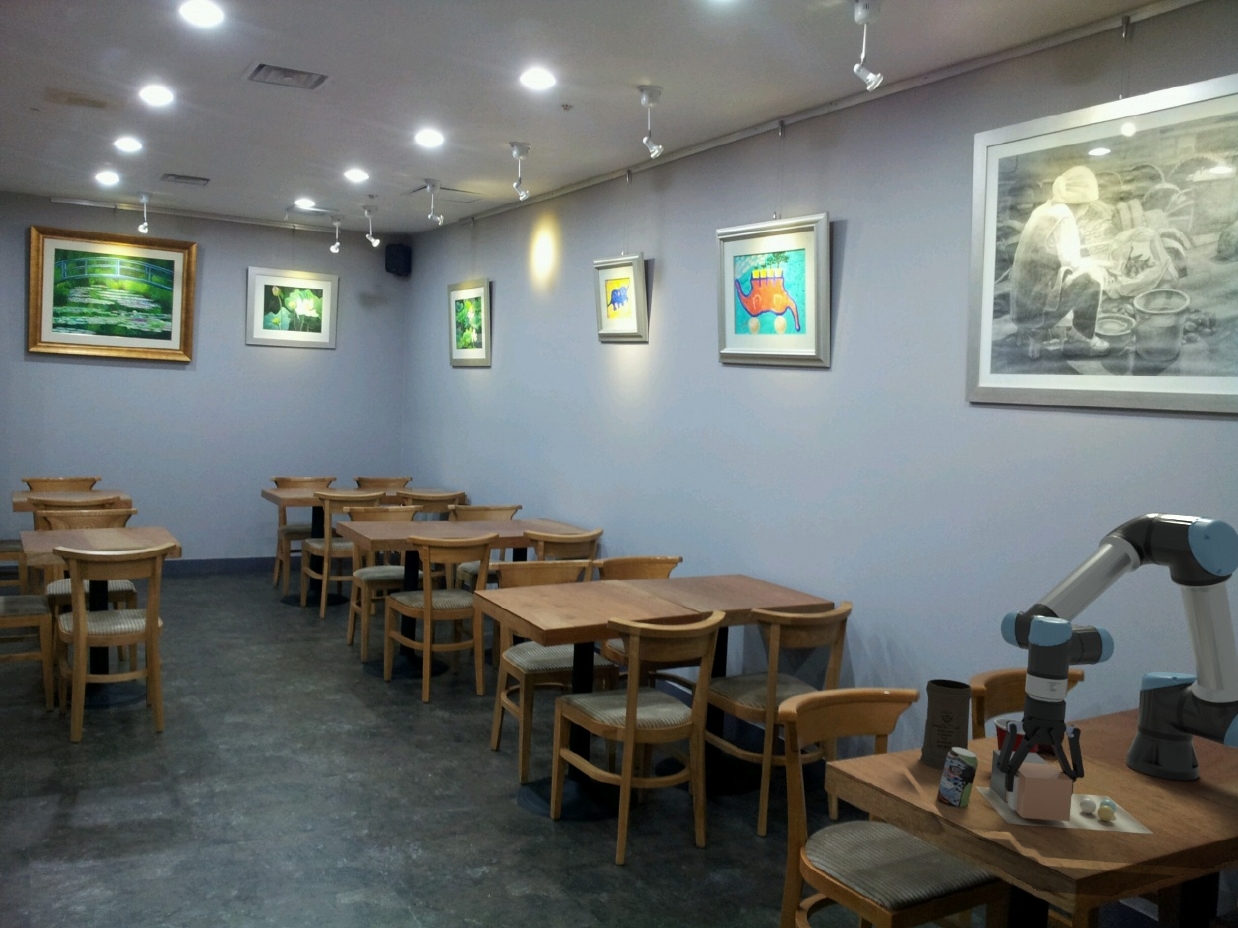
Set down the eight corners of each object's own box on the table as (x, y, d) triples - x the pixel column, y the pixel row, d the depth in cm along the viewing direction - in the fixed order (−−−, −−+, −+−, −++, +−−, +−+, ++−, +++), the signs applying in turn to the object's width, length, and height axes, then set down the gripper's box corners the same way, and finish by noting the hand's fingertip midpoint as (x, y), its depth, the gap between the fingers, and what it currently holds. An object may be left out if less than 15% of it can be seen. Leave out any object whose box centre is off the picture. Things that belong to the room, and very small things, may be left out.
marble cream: (1091, 810, 203) (1092, 796, 203) (1098, 816, 200) (1099, 801, 200) (1076, 809, 203) (1077, 795, 203) (1082, 815, 200) (1084, 800, 200)
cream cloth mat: (1106, 801, 212) (1107, 795, 212) (1153, 839, 192) (1154, 833, 192) (974, 791, 213) (974, 786, 213) (1007, 829, 193) (1007, 823, 193)
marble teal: (1111, 812, 203) (1112, 797, 203) (1118, 817, 200) (1119, 803, 200) (1096, 810, 203) (1097, 796, 203) (1103, 816, 200) (1104, 801, 200)
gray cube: (1032, 789, 213) (1035, 752, 213) (1049, 805, 204) (1052, 767, 204) (990, 786, 214) (993, 749, 213) (1005, 802, 205) (1008, 763, 204)
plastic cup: (1046, 788, 219) (1050, 734, 218) (994, 781, 221) (998, 728, 220) (1035, 772, 229) (1039, 720, 229) (986, 766, 231) (990, 715, 231)
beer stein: (972, 779, 221) (978, 689, 222) (922, 773, 223) (928, 684, 224) (961, 762, 236) (966, 677, 237) (914, 756, 238) (919, 672, 239)
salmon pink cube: (1051, 803, 201) (1054, 764, 201) (1069, 821, 192) (1072, 780, 192) (1006, 800, 202) (1008, 761, 201) (1022, 817, 193) (1025, 776, 192)
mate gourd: (1047, 746, 249) (1052, 687, 249) (1072, 757, 242) (1076, 696, 242) (1024, 748, 247) (1028, 688, 246) (1048, 759, 239) (1052, 697, 239)
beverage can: (932, 800, 207) (937, 743, 206) (968, 802, 207) (972, 745, 206) (941, 811, 201) (945, 753, 200) (978, 814, 200) (982, 755, 200)
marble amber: (1109, 818, 199) (1110, 803, 199) (1116, 824, 196) (1117, 809, 196) (1094, 817, 199) (1095, 802, 199) (1101, 823, 196) (1102, 808, 196)
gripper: (996, 697, 193) (987, 812, 194) (1110, 705, 192) (1101, 820, 193) (983, 687, 200) (975, 798, 201) (1093, 695, 200) (1084, 806, 200)
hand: (1037, 809), depth 197 cm, fingers closed on salmon pink cube, 9 cm apart
